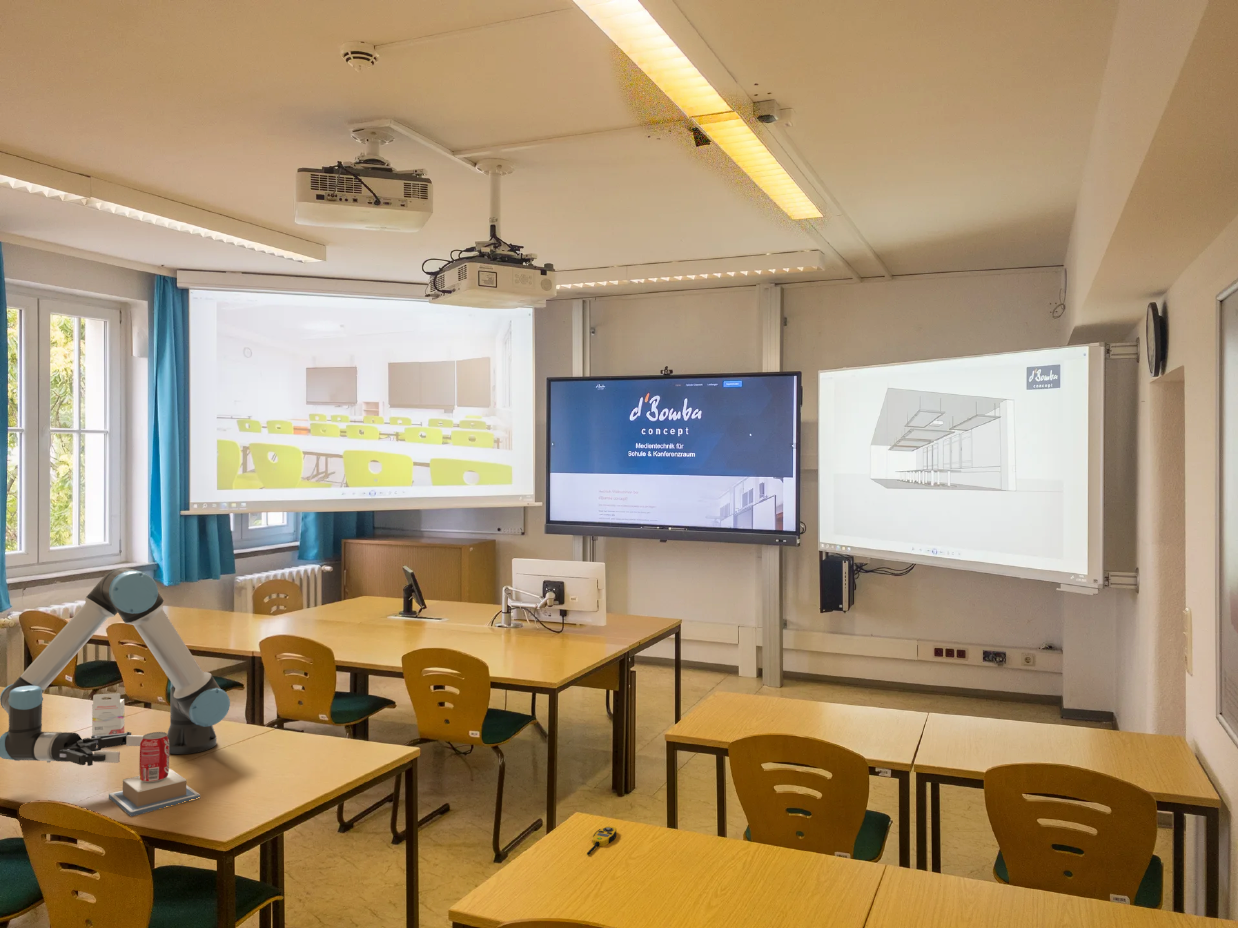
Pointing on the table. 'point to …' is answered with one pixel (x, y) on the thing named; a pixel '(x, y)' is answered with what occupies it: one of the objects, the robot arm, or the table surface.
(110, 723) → the ink cartridge box
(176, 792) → the board
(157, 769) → the soda can
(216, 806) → the table surface
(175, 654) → the robot arm
